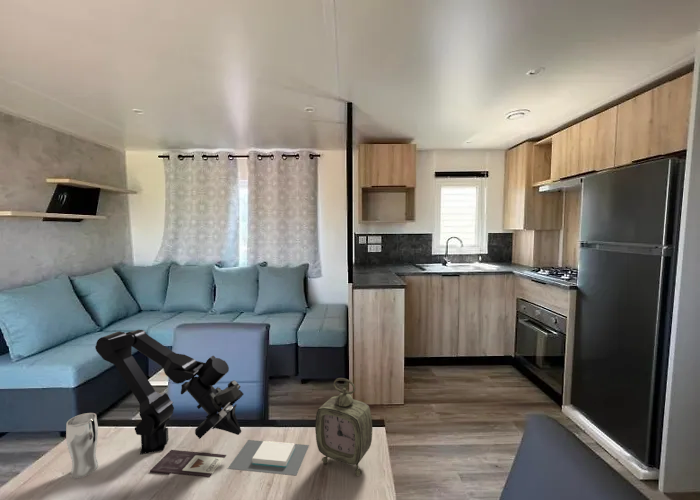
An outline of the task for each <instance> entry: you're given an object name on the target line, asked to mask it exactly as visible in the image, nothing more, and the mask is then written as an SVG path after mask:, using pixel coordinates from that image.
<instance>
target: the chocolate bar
mask: <svg viewBox="0 0 700 500" xmlns="http://www.w3.org/2000/svg"><path fill="white" fill-rule="evenodd" d="M226 457H227V454H222V453H221V454H220V453H219V454H218V453H209V452H202V451H201V452H199V451H188V450H187V451H186V450H178V449H177V450H176V449H170V450H169V451H168V452H167V453H166V454H165V455H164V456H163V457H162V458H161V459H160V460H159V461H158V462H157V463H155V465H154V466H153V467H152V468H151V469H150V470H149V473H151V474H158V475H159V474H161V475H170V474H173V475H174V474H175V475H182V476H184V475H185V476H193V477H204V478H211V476H212V475H213V474H214V472H215V471H216V470H217V468H218V467H219V466H220V465H221V463H223V461H224V460H225V458H226Z"/></svg>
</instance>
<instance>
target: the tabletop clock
mask: <svg viewBox="0 0 700 500" xmlns="http://www.w3.org/2000/svg"><path fill="white" fill-rule="evenodd" d="M339 381H341V382H342V381H343V382H346V383H349V384H351V386H352V388H353V390H351V391H347V388H346V387H343V388H342V389H340V388H338V387H337V386H336V383H337V382H339ZM333 387H334V388H335V390H336V391H337V392H339V394H338V395H337V396H336V395H335V396H332V397H330V398H328V400H327V401H326V402H324V403H323V404H322V405H321V406H320V407H318V408H317V411H316V415H315V428H314V429H315V440H316V446H317V449H318V451H319V453H321V454H322V455H324V456H323V457H322V459H321V461H322V463H323V464H327V463H328V461H329V460H328V458H330V459H332V460H334V461H336V462H339V463H342V464H347V465H350V466H355V468H356V469H355V472H354V473H355V475H356V476H357V477H359V476H361V475H362V470H361V469H360V468H359V463H360V462H361V461H362V459H363V458H364V457H365V455H366V454H367V452H368V451H369V449H370V448H371V445H372V441H373V420H372V418H373V417H372V414H371V413H372V411H371V408H370V405H368V404H367V403H366V402H363V401H360V400H357V399H354V398H353V397H352V395H351V394H353V393H355V392H356V385H355V384H354V382H352V381H351V380H350V379H347V378H344V377H338V378H336V379H335V380H334V381H333Z"/></svg>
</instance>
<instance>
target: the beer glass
mask: <svg viewBox="0 0 700 500" xmlns="http://www.w3.org/2000/svg"><path fill="white" fill-rule="evenodd" d="M97 418H98V417H97V413H94V412H87V413H82V414H78V415H76V416H73V417H72V418H70V419H68V421H67V422H66V429H65V431H66V432H65V433H66V434H65V437H66V438H65V441H66V446H67V449H68V453H69V455H70V459H71V460H70V461H71V470H70V477H71V478H72V479H80V478H85V477H87V476H89V475H92V474H93V473H94V472H96V471H97V470H98V467H99V463H98V459H97V446H98V439H99V425H98V419H97Z"/></svg>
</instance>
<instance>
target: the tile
mask: <svg viewBox="0 0 700 500" xmlns="http://www.w3.org/2000/svg"><path fill="white" fill-rule="evenodd" d="M262 441H263V442H262V444H261V446H260V447H259V449H258V450H257V452H256V453H255V455H254V456H253V458H252V464H254V465H264V466H275V467H285V468H286V467H287V465H288V463H289V461H290V458H291V456H292V454H293V452H294V450H295V444H296V443H292V442H281V441H272V440H271V441H269V440H262Z"/></svg>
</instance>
